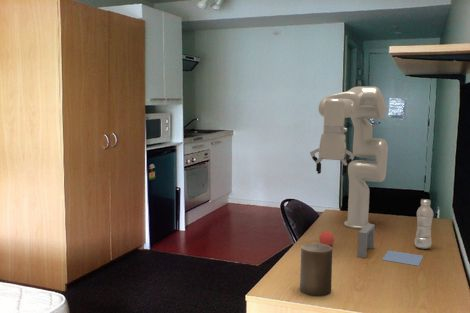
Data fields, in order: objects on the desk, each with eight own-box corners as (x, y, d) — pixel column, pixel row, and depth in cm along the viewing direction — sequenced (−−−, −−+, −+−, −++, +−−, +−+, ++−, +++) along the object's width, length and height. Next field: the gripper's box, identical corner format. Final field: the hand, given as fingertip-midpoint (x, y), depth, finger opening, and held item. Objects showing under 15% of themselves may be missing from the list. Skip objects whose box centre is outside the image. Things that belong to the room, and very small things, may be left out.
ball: (321, 242, 198) (322, 228, 197) (335, 245, 195) (336, 230, 195) (317, 246, 193) (317, 232, 192) (331, 248, 190) (331, 234, 189)
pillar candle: (336, 295, 144) (338, 246, 142) (305, 297, 142) (307, 248, 140) (323, 283, 153) (325, 238, 152) (295, 285, 151) (296, 239, 150)
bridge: (357, 256, 181) (358, 231, 180) (366, 246, 194) (367, 223, 193) (365, 258, 179) (366, 233, 178) (373, 247, 192) (374, 224, 191)
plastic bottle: (411, 248, 193) (414, 199, 191) (418, 244, 198) (421, 197, 196) (427, 251, 189) (430, 202, 187) (433, 248, 194) (437, 200, 192)
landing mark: (388, 250, 189) (388, 250, 189) (423, 256, 183) (423, 255, 183) (381, 260, 177) (381, 259, 177) (418, 266, 171) (418, 265, 171)
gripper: (357, 131, 184) (355, 174, 186) (313, 129, 190) (311, 171, 192) (354, 132, 177) (352, 177, 179) (309, 130, 183) (307, 173, 185)
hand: (331, 174), depth 185 cm, fingers open, 9 cm apart
